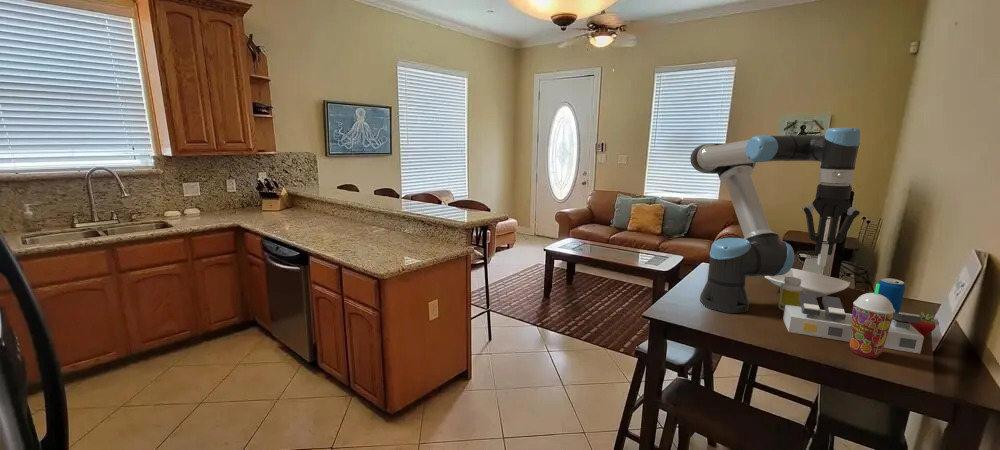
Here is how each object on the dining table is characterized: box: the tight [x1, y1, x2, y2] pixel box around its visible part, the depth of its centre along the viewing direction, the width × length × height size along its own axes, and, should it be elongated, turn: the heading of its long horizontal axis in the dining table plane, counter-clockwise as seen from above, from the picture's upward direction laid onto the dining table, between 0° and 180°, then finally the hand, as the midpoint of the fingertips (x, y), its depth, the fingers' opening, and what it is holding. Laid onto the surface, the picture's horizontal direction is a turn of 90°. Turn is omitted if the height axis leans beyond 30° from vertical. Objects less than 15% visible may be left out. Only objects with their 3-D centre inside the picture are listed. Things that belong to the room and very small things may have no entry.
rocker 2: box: [821, 295, 846, 320], centre depth 124 cm, size 4×8×2 cm, turn 154°
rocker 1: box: [798, 293, 821, 316], centre depth 126 cm, size 4×8×2 cm, turn 154°
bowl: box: [764, 267, 851, 299], centre depth 156 cm, size 22×23×6 cm
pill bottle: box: [777, 277, 803, 312], centre depth 141 cm, size 6×6×11 cm
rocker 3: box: [892, 311, 921, 323], centre depth 117 cm, size 4×8×2 cm, turn 154°
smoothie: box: [848, 283, 895, 359], centre depth 111 cm, size 8×8×20 cm
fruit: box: [909, 310, 937, 339], centre depth 121 cm, size 5×5×8 cm
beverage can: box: [877, 277, 906, 313], centre depth 136 cm, size 6×6×12 cm
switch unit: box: [782, 305, 925, 354], centre depth 123 cm, size 30×10×7 cm, turn 64°
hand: (821, 264), depth 121 cm, fingers closed
